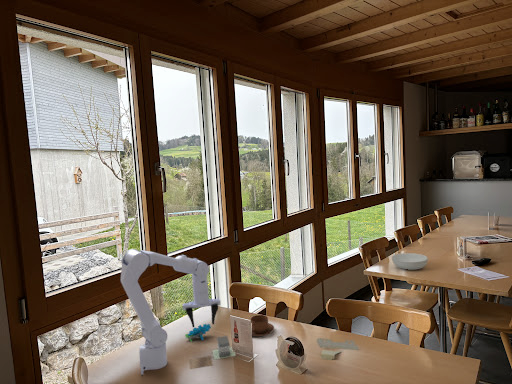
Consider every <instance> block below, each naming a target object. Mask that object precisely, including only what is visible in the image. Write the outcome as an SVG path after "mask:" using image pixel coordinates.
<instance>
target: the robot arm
mask: <svg viewBox="0 0 512 384" xmlns="http://www.w3.org/2000/svg"><path fill="white" fill-rule="evenodd" d="M120 263H121V271H120V283H121V286H122V287H123V290H124V291H125V293H126V295H127V297H128V299H129V301H130V304H131V306H132V308H133V309H134V311H135V312H134V313H136V315H137V317H138V319H139V322H140V327H141V335H142V337H143V338H144V339H145V342H144V344H142V345H141V344H140V346H139V349H138V350H139V352H138V353H139V354H138V355H139V367H140V375H144V371H149V370H158V369H162V368H164V367H166V365H168V355H167V343H166V342H167V341H168V332H167V330H165V329H164V328H163V327H162V326H161V324H160V323H159V321H158V320H157V319H156V317H155V315H154V313H153V311H152V309H151V307H150V305H149V302H148V301H147V298H146V297H145V295H144V292H143V290H142V288H141V286H140V284H139V282H138V281H139V278H140V277H141V276H142V274H143V273H144V272H145V271H146V270H147V268H148V267H152V266H153V265H155V264H159V265H163V266H169V267H172V268H173V270H174V271H176V272H180V273H185V274H189V275H191V280H192V281H191V282H192V291H193V301H189V302H185V303H182V311H185V313H186V315H187V316H188V318H189V320H190V323H191V325H192V328H195V321H194V320H195V319H194V311H193V309H196V308H204V307H210V309H211V324H212V325H215V321H216V320H215V319H216V315H217V313H218V309H219V306H221V299H220V298H209V297H210V296H209V286H208V274H209V271H210V267H209V265H208V264H207V263H206V262H205V261H202V260H199V259H198V258H196V257H193V258H191V257H187V255H184V254H181V255H177V256H176V257H172V256H168V255H165V254H161V253H158V252H154V251H149V250H142V249H141V250H138V249H136V248H131V249H129V250H126V252H125V253H124V255H123V256H122V258H121V260H120Z"/></svg>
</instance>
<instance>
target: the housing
mask: <svg viewBox="0 0 512 384" xmlns="http://www.w3.org/2000/svg"><path fill="white" fill-rule="evenodd" d="M216 343H217V350H218V353H219V357H226V356H230V348H231V347H230V340H229V338H228V335H226V336H225V335H223V336H218V337H216ZM226 358H227V357H226Z"/></svg>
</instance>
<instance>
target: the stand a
mask: <svg viewBox="0 0 512 384" xmlns="http://www.w3.org/2000/svg"><path fill="white" fill-rule="evenodd" d="M212 359H213V358H212V355H207V356H202V357H196V358H190V359H188V361H189V370H193V369H201V368H205V367H210V366H211V367H212V366H213V362H212V361H213V360H212Z"/></svg>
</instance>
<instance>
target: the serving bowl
mask: <svg viewBox="0 0 512 384" xmlns="http://www.w3.org/2000/svg"><path fill="white" fill-rule="evenodd" d="M391 260H392V263H393V265H394V266H396V267H397V268H399V269H403V270H406V269H408V270H407V271H415V270H420V269H423V268H424V267H425V266H427V263H428V261H429V260H428V256H426V255H424V254H419V253H415V252H413V253H411V252H409V253H408V252H404V253H403V252H402V253H396V254H392V256H391Z"/></svg>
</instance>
